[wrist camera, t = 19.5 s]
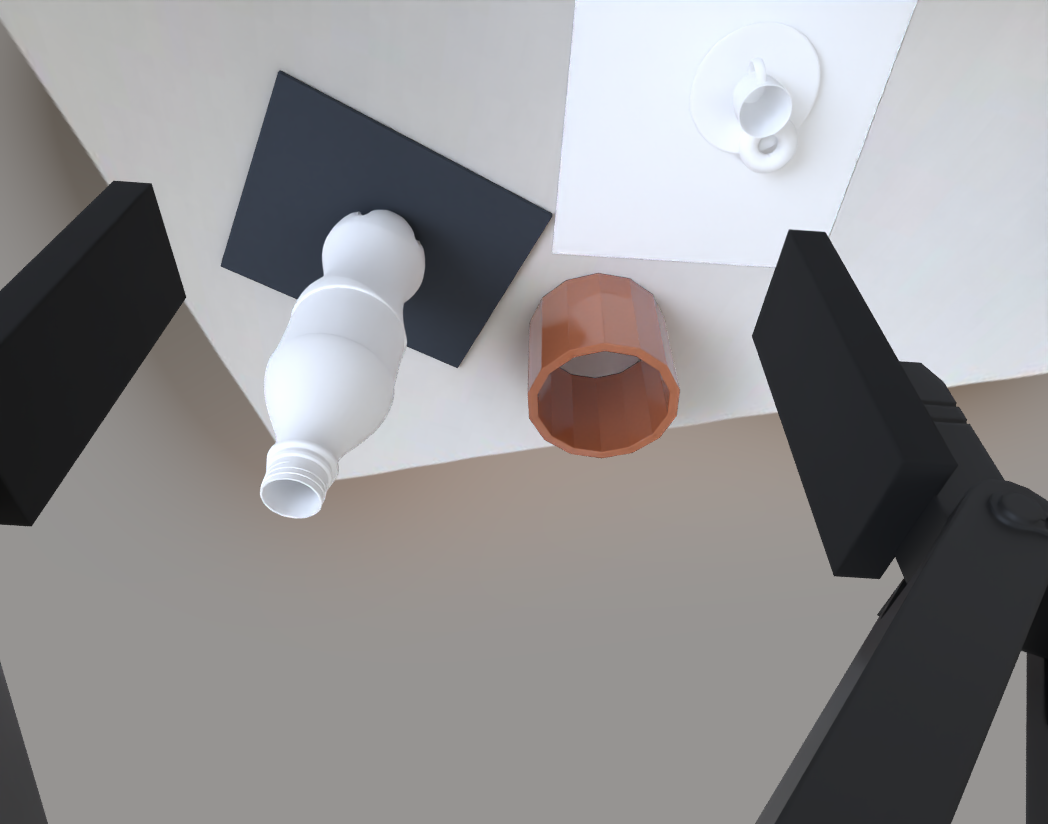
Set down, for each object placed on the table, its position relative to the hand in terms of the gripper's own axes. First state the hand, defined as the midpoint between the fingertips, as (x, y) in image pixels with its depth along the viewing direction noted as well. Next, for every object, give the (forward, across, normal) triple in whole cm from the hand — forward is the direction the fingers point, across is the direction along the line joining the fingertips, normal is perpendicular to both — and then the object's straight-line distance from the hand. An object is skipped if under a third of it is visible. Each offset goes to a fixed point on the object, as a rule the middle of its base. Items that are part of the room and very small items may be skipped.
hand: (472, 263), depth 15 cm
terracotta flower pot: (+34, +8, -26) cm, 44 cm away
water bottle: (+34, -9, -19) cm, 40 cm away
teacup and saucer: (+35, +13, -9) cm, 38 cm away
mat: (+34, -9, -19) cm, 40 cm away
